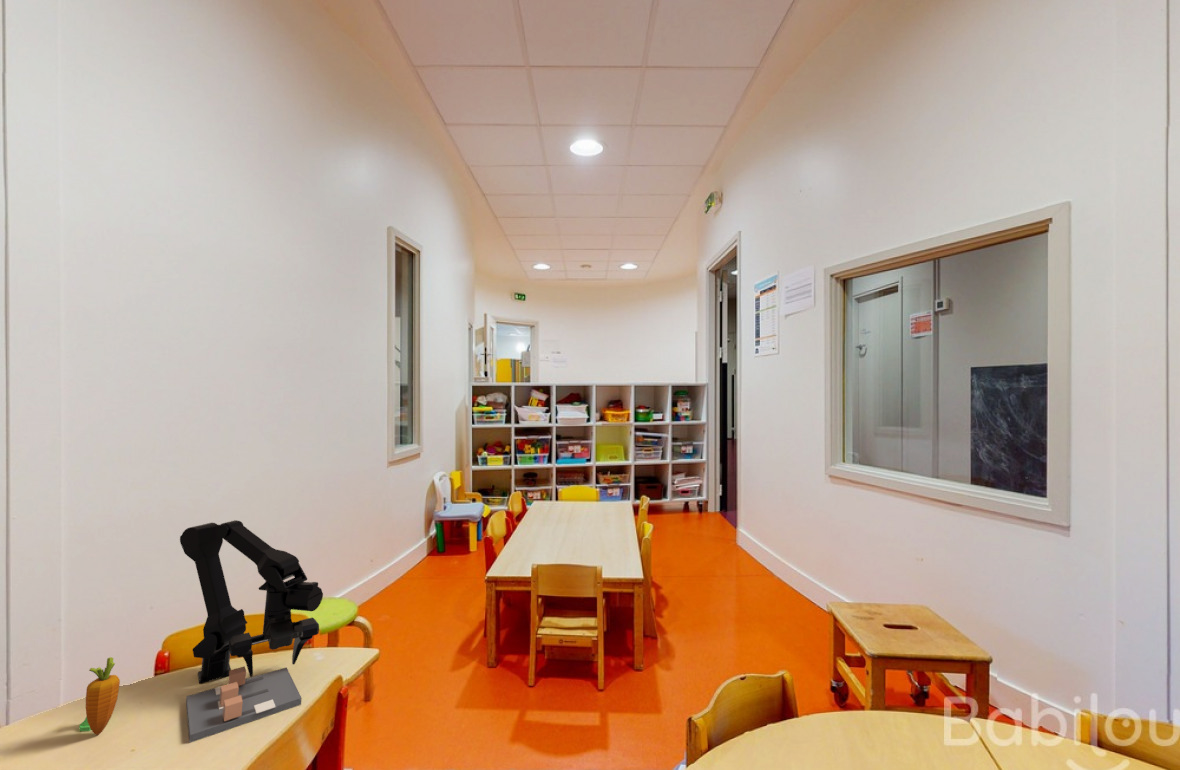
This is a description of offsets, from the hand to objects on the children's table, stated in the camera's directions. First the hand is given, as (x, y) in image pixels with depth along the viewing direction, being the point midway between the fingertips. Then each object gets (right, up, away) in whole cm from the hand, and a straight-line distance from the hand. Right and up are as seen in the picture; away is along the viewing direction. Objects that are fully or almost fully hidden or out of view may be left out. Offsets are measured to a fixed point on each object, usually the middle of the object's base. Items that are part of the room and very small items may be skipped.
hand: (272, 669), depth 118 cm
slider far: (-5, 0, -5) cm, 7 cm away
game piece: (-26, -1, -19) cm, 32 cm away
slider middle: (-2, 0, -12) cm, 12 cm away
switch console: (0, -2, -10) cm, 10 cm away
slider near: (+3, 0, -17) cm, 17 cm away
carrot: (-22, -1, -22) cm, 31 cm away
